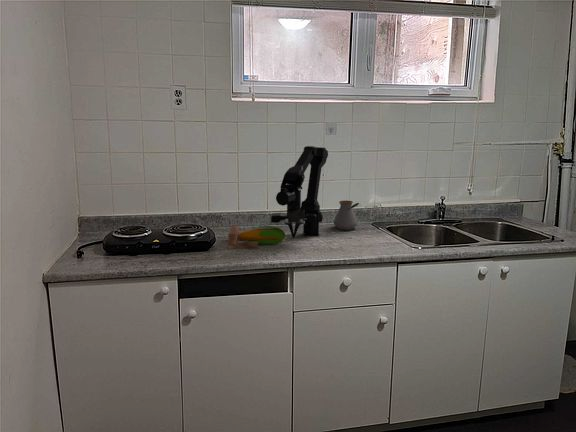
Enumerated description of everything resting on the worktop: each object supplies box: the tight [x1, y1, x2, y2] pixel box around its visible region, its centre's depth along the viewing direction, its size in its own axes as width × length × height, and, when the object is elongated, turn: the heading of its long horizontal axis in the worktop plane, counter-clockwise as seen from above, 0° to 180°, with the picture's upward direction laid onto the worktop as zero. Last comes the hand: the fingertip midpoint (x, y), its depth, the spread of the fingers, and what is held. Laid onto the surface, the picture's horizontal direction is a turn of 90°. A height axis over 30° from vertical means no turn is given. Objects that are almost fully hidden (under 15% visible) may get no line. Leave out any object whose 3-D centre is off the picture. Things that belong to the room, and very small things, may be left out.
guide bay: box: [227, 225, 260, 250], centre depth 202 cm, size 12×15×6 cm
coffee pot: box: [333, 200, 361, 231], centre depth 225 cm, size 21×12×15 cm, turn 13°
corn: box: [238, 225, 286, 246], centre depth 203 cm, size 7×8×20 cm
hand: (293, 238), depth 203 cm, fingers closed
